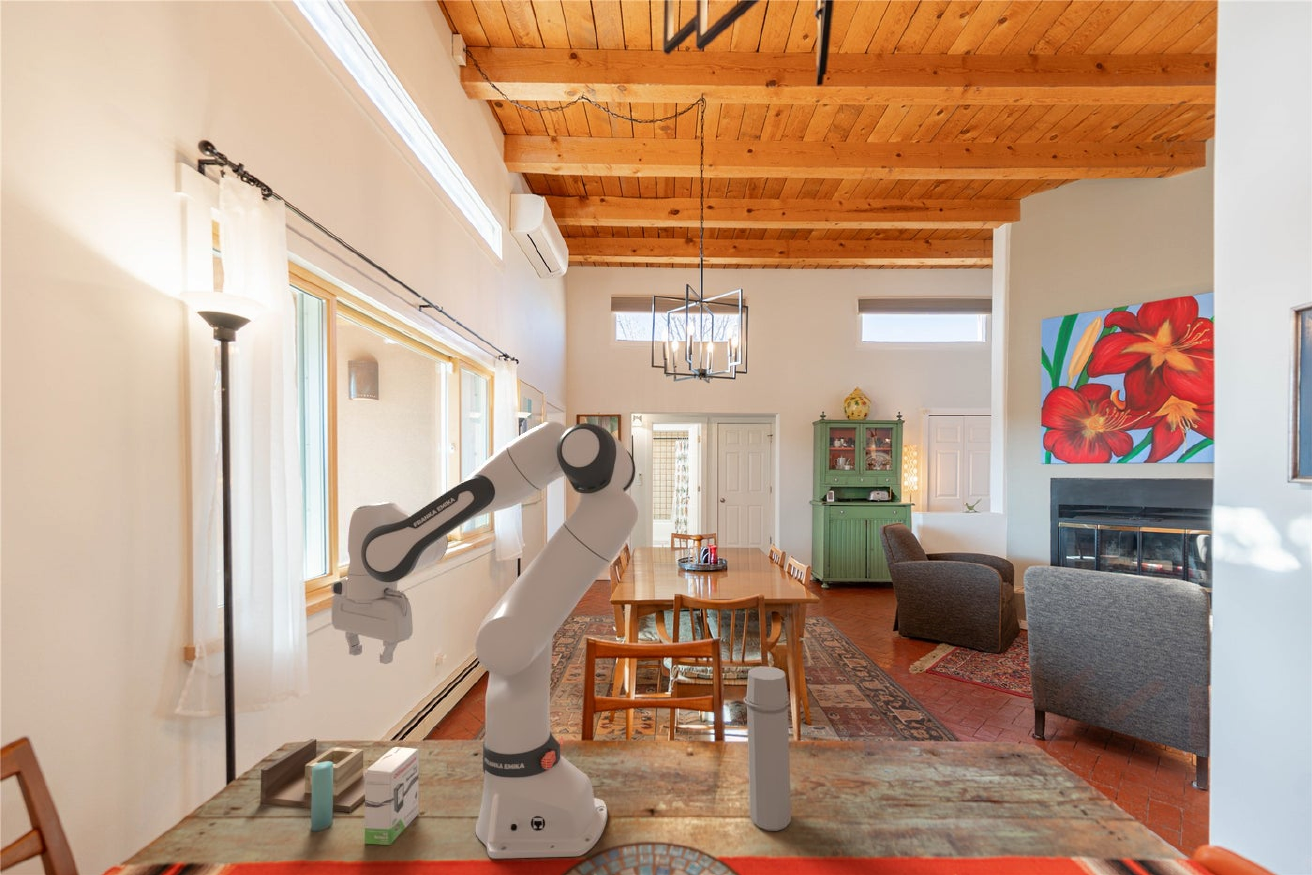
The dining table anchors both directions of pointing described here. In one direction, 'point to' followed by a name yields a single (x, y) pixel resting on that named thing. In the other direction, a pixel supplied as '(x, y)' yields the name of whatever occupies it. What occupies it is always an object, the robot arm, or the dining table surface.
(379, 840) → the ink box
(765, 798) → the water bottle
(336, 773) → the wooden square socket
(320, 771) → the dowel
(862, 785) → the dining table surface
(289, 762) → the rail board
